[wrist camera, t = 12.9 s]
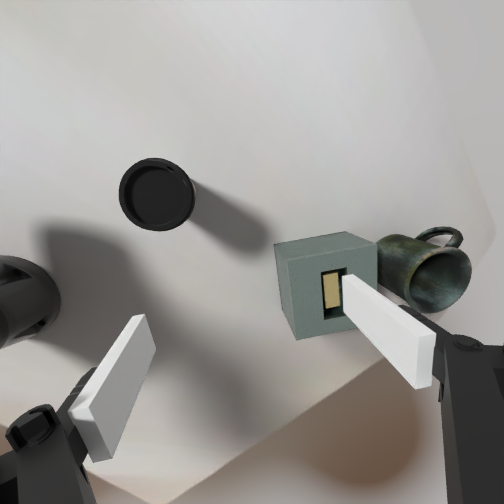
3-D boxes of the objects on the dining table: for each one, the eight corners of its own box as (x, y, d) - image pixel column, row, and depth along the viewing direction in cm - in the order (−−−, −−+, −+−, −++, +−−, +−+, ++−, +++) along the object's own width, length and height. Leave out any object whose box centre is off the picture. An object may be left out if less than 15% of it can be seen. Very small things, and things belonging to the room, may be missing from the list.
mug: (351, 267, 48) (391, 293, 37) (400, 206, 46) (459, 214, 34) (388, 292, 51) (436, 325, 39) (435, 236, 48) (501, 253, 37)
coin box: (282, 309, 49) (296, 340, 39) (273, 244, 45) (287, 261, 35) (347, 296, 50) (377, 323, 40) (345, 231, 46) (377, 244, 36)
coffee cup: (213, 185, 41) (207, 187, 26) (186, 226, 42) (167, 248, 28) (169, 154, 39) (136, 137, 24) (142, 197, 40) (97, 206, 26)
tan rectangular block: (309, 288, 47) (326, 308, 40) (306, 259, 46) (323, 275, 38) (321, 285, 47) (339, 305, 40) (318, 257, 46) (337, 272, 38)
